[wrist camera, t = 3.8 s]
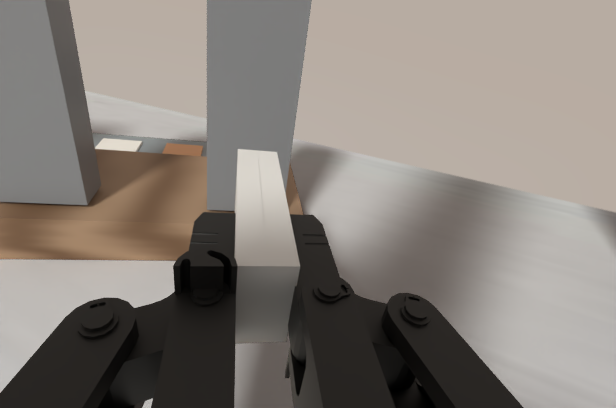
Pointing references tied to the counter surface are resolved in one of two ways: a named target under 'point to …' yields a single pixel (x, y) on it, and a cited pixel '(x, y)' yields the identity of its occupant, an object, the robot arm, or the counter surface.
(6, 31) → the key middle
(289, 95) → the key inner
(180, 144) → the pattern card
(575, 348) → the counter surface
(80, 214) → the brown wooden board
